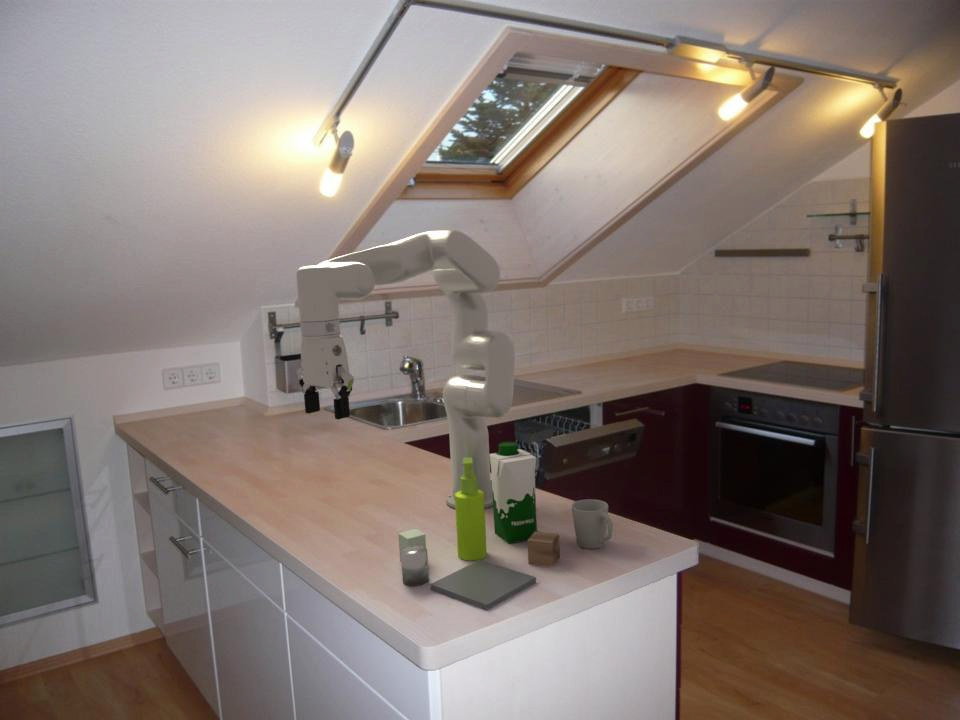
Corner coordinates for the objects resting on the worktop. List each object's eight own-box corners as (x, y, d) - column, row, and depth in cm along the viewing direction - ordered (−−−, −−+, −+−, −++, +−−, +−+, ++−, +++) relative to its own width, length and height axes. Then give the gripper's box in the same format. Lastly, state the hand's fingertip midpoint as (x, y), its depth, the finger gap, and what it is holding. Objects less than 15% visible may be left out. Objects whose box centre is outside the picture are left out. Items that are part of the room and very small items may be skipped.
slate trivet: (480, 564, 159) (480, 559, 159) (536, 582, 150) (536, 577, 150) (430, 589, 149) (430, 584, 149) (486, 610, 140) (486, 604, 140)
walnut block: (536, 554, 163) (535, 531, 162) (559, 557, 161) (559, 533, 160) (528, 564, 159) (527, 540, 158) (552, 567, 157) (551, 542, 156)
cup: (591, 534, 172) (591, 496, 171) (625, 548, 164) (624, 508, 163) (565, 543, 168) (563, 504, 167) (597, 558, 160) (596, 517, 158)
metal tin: (416, 573, 157) (414, 544, 156) (434, 579, 153) (432, 549, 152) (397, 582, 153) (395, 552, 152) (415, 588, 150) (413, 558, 149)
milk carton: (524, 525, 179) (521, 438, 176) (543, 538, 171) (540, 447, 168) (489, 532, 176) (484, 444, 173) (506, 546, 168) (502, 454, 165)
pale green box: (417, 556, 165) (415, 528, 164) (426, 562, 162) (425, 534, 161) (400, 561, 163) (398, 533, 162) (409, 567, 159) (407, 538, 159)
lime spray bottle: (485, 546, 168) (481, 454, 165) (487, 559, 161) (482, 463, 158) (457, 548, 168) (453, 455, 165) (458, 561, 161) (453, 465, 158)
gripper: (363, 329, 153) (370, 416, 155) (310, 325, 164) (317, 406, 167) (331, 333, 147) (338, 424, 150) (279, 329, 159) (286, 413, 162)
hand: (327, 415), depth 159 cm, fingers open, 9 cm apart
